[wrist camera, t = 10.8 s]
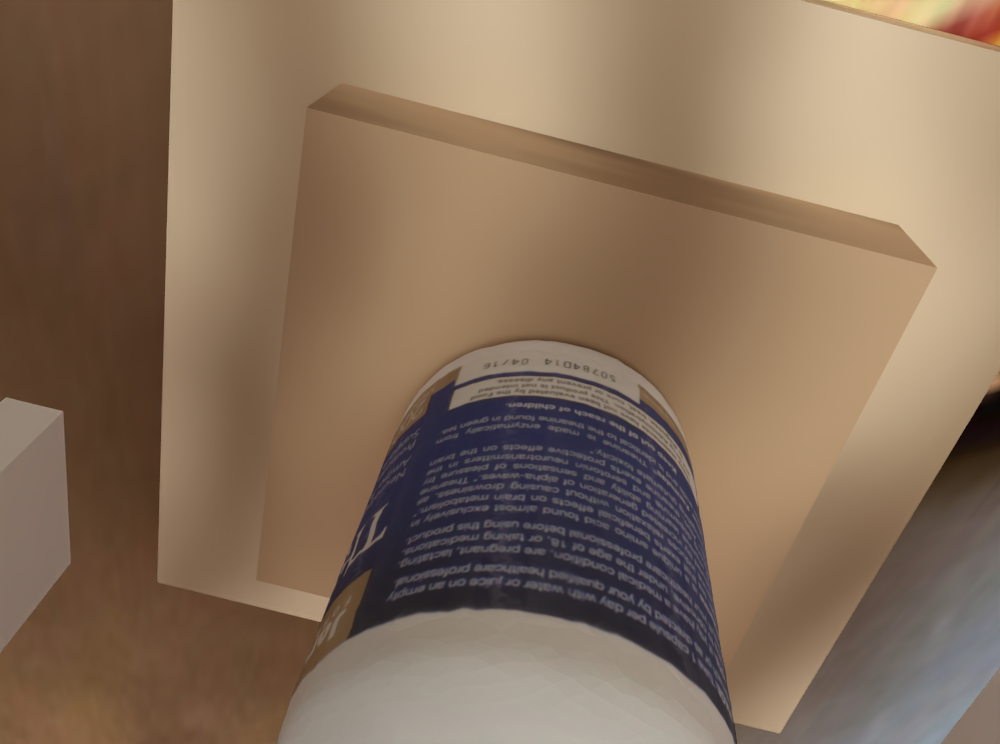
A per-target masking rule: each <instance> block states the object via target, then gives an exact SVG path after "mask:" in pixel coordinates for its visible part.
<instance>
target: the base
mask: <svg viewBox="0 0 1000 744" xmlns="http://www.w3.org/2000/svg"><path fill="white" fill-rule="evenodd" d="M529 340H542V341H554V342H561V343H567V344H571V345H575V346H580V347H584V348H588V349H591V350H594V351H597V352H600V353H602V354H605V355H608V356H610V357H613V358H615V359H617V360H619V361H620V362H622V363H623V364H624V365H626V366H628V367H629V368H631V369H633V370H634V371H636V372H637V373H639V374H640V375H642V376H643V377H644V378H645V379H646V380H647V381H649V382H650V383H651V384H652V385H653V386H654V387H655V388H656V389H657V390H658V391H659V392H660V394H661V395H662V396H663V397H664V399H665V400H666V402H667V403H668V405H669V406H670V407H671V409H672V410H673V412H674V414H675V415H676V417H677V419H678V421H679V423H680V425H681V428H682V430H683V433H684V435H685V439H686V443H687V446H688V450H689V454H690V459H691V463H692V469H693V474H694V480H695V485H696V491H697V500H698V505H699V513H700V519H701V524H702V528H703V534H704V541H705V550H706V556H707V563H708V569H709V575H710V581H711V587H712V594H713V601H714V607H715V613H716V618H717V624H718V630H719V640H720V646H721V652H722V658H723V662H724V666H725V672H726V679H727V687H728V692H729V697H730V702H731V707H732V716H733V721H734V723H738V724H742V725H746V726H750V727H754V728H758V729H763V730H767V731H771V732H775V733H779V734H780V732H781V731H782V729H783V727H784V726H785V724H786V722H787V721H788V719H789V717H790V716H791V714H792V713H793V711H794V709H795V708H796V706H797V704H798V703H799V701H800V699H801V698H802V696H803V694H804V693H805V691H806V689H807V688H808V686H809V685H810V683H811V681H812V680H813V678H814V676H815V675H816V673H817V671H818V670H819V668H820V666H821V665H822V663H823V661H824V660H825V658H826V656H827V655H828V653H829V652H830V650H831V648H832V647H833V645H834V643H835V642H836V640H837V638H838V637H839V635H840V633H841V632H842V630H843V628H844V627H845V625H846V623H847V622H848V620H849V619H850V617H851V615H852V614H853V612H854V610H855V609H856V607H857V605H858V604H859V602H860V600H861V599H862V597H863V595H864V594H865V592H866V590H867V589H868V587H869V586H870V584H871V582H872V581H873V579H874V577H875V576H876V574H877V572H878V571H879V569H880V567H881V566H882V564H883V562H884V561H885V559H886V557H887V556H888V554H889V553H890V551H891V549H892V548H893V546H894V544H895V543H896V541H897V539H898V538H899V536H900V534H901V533H902V531H903V529H904V528H905V526H906V524H907V523H908V521H909V520H910V518H911V516H912V515H913V513H914V511H915V510H916V508H917V506H918V505H919V503H920V501H921V500H922V498H923V496H924V495H925V493H926V491H927V490H928V488H929V487H930V485H931V483H932V482H933V480H934V478H935V477H936V475H937V473H938V472H939V470H940V468H941V467H942V465H943V463H944V462H945V460H946V458H947V457H948V455H949V454H950V452H951V450H952V449H953V447H954V445H955V444H956V442H957V440H958V439H959V437H960V435H961V434H962V432H963V430H964V429H965V427H966V425H967V424H968V422H969V421H970V419H971V417H972V416H973V414H974V412H975V411H976V409H977V407H978V406H979V404H980V402H981V401H982V399H983V397H984V396H985V394H986V392H987V391H988V389H989V388H990V386H991V384H992V383H993V381H994V379H995V378H996V376H997V374H998V373H999V371H1000V46H996V45H992V44H988V43H985V42H981V41H977V40H973V39H969V38H965V37H961V36H958V35H954V34H950V33H946V32H942V31H938V30H934V29H931V28H927V27H923V26H919V25H915V24H911V23H908V22H904V21H900V20H896V19H892V18H888V17H884V16H881V15H877V14H873V13H869V12H865V11H861V10H857V9H854V8H850V7H846V6H842V5H838V4H834V3H830V2H827V1H823V0H173V19H172V56H171V93H170V130H169V167H168V204H167V241H166V278H165V315H164V352H163V389H162V426H161V463H160V500H159V537H158V574H157V582H158V583H162V584H166V585H170V586H175V587H179V588H183V589H187V590H191V591H195V592H199V593H203V594H207V595H212V596H216V597H220V598H224V599H228V600H232V601H236V602H240V603H244V604H249V605H253V606H257V607H261V608H265V609H269V610H273V611H277V612H281V613H286V614H290V615H294V616H298V617H302V618H306V619H310V620H314V621H318V622H321V620H322V618H323V615H324V613H325V610H326V608H327V605H328V602H329V600H330V597H331V594H332V592H333V590H334V588H335V586H336V583H337V579H338V576H339V573H340V571H341V569H342V567H343V564H344V562H345V559H346V556H347V554H348V551H349V549H350V546H351V544H352V541H353V539H354V536H355V534H356V532H357V529H358V527H359V524H360V522H361V519H362V517H363V514H364V512H365V509H366V506H367V504H368V501H369V499H370V496H371V494H372V492H373V489H374V486H375V484H376V481H377V478H378V476H379V473H380V470H381V468H382V465H383V462H384V460H385V457H386V455H387V452H388V450H389V448H390V445H391V442H392V440H393V437H394V435H395V433H396V431H397V430H398V428H399V425H400V423H401V421H402V418H403V416H404V414H405V412H406V410H407V408H408V407H409V405H410V403H411V402H412V401H413V399H414V398H415V396H416V395H417V393H418V392H419V390H420V389H421V388H422V387H423V386H424V385H425V384H426V383H427V382H428V381H429V380H430V379H431V378H432V377H433V376H434V375H435V374H436V373H438V372H439V371H440V370H441V369H442V368H443V367H445V366H446V365H448V364H449V363H451V362H453V361H455V360H456V359H458V358H460V357H462V356H464V355H466V354H468V353H470V352H473V351H475V350H478V349H481V348H487V347H492V346H496V345H500V344H503V343H509V342H516V341H529Z"/></svg>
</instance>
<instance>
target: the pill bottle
mask: <svg viewBox="0 0 1000 744" xmlns="http://www.w3.org/2000/svg"><path fill="white" fill-rule="evenodd" d="M277 744H737V740H736V733H735V726H734V721H733V716H732V707H731V702H730V697H729V692H728V687H727V679H726V672H725V666H724V662H723V658H722V652H721V646H720V640H719V630H718V624H717V618H716V613H715V607H714V601H713V594H712V587H711V581H710V575H709V569H708V563H707V556H706V550H705V541H704V534H703V528H702V524H701V519H700V513H699V505H698V500H697V491H696V485H695V480H694V474H693V469H692V463H691V459H690V454H689V450H688V446H687V443H686V439H685V435H684V433H683V430H682V428H681V425H680V423H679V421H678V419H677V417H676V415H675V414H674V412H673V410H672V409H671V407H670V406H669V405H668V403H667V402H666V400H665V399H664V397H663V396H662V395H661V394H660V392H659V391H658V390H657V389H656V388H655V387H654V386H653V385H652V384H651V383H650V382H649V381H647V380H646V379H645V378H644V377H643V376H642V375H640V374H639V373H637V372H636V371H634V370H633V369H631V368H629V367H628V366H626V365H624V364H623V363H622V362H620V361H619V360H617V359H615V358H613V357H610V356H608V355H605V354H602V353H600V352H597V351H594V350H591V349H588V348H584V347H580V346H575V345H571V344H567V343H561V342H554V341H542V340H529V341H516V342H509V343H503V344H500V345H496V346H492V347H487V348H481V349H478V350H475V351H473V352H470V353H468V354H466V355H464V356H462V357H460V358H458V359H456V360H455V361H453V362H451V363H449V364H448V365H446V366H445V367H443V368H442V369H441V370H440V371H439V372H438V373H436V374H435V375H434V376H433V377H432V378H431V379H430V380H429V381H428V382H427V383H426V384H425V385H424V386H423V387H422V388H421V389H420V390H419V392H418V393H417V395H416V396H415V398H414V399H413V401H412V402H411V403H410V405H409V407H408V408H407V410H406V412H405V414H404V416H403V418H402V421H401V423H400V425H399V428H398V430H397V431H396V433H395V435H394V437H393V440H392V442H391V445H390V448H389V450H388V452H387V455H386V457H385V460H384V462H383V465H382V468H381V470H380V473H379V476H378V478H377V481H376V484H375V486H374V489H373V492H372V494H371V496H370V499H369V501H368V504H367V506H366V509H365V512H364V514H363V517H362V519H361V522H360V524H359V527H358V529H357V532H356V534H355V536H354V539H353V541H352V544H351V546H350V549H349V551H348V554H347V556H346V559H345V562H344V564H343V567H342V569H341V571H340V573H339V576H338V579H337V583H336V586H335V588H334V590H333V592H332V594H331V597H330V600H329V602H328V605H327V608H326V610H325V613H324V615H323V618H322V620H321V623H320V626H319V628H318V631H317V634H316V637H315V639H314V642H313V644H312V647H311V649H310V652H309V654H308V657H307V660H306V662H305V665H304V667H303V670H302V672H301V675H300V677H299V680H298V682H297V685H296V687H295V690H294V692H293V695H292V698H291V701H290V704H289V707H288V710H287V713H286V716H285V719H284V722H283V725H282V728H281V731H280V734H279V738H278V742H277Z"/></svg>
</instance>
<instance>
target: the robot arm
mask: <svg viewBox="0 0 1000 744" xmlns="http://www.w3.org/2000/svg"><path fill="white" fill-rule="evenodd" d="M70 563H71V555H70V535H69V515H68V495H67V475H66V455H65V435H64V415H63V411H60V410H56V409H52V408H48V407H44V406H40V405H36V404H31V403H27V402H23V401H19V400H15V399H11V398H7V397H6V398H5V399H3V400H2V401H1V402H0V653H1V651H2V650H3V649H4V648H5V646H6V645H7V644H8V642H9V641H10V640H11V639H12V637H13V636H14V635H15V634H16V632H17V631H18V630H19V628H20V627H21V626H22V625H23V623H24V622H25V621H26V620H27V618H28V617H29V616H30V614H31V613H32V612H33V611H34V609H35V608H36V607H37V605H38V604H39V603H40V602H41V600H42V599H43V598H44V597H45V595H46V594H47V593H48V591H49V590H50V589H51V588H52V586H53V585H54V584H55V583H56V581H57V580H58V579H59V577H60V576H61V575H62V574H63V572H64V571H65V570H66V569H67V567H68V566H69V565H70ZM941 744H1000V669H999V670H998V671H997V672H996V674H995V675H994V676H993V678H992V679H991V680H990V681H989V683H988V684H987V685H986V686H985V688H984V689H983V690H982V692H981V693H980V694H979V695H978V697H977V698H976V699H975V701H974V702H973V703H972V704H971V706H970V707H969V708H968V710H967V711H966V712H965V713H964V715H963V716H962V717H961V719H960V720H959V721H958V722H957V724H956V725H955V726H954V728H953V729H952V730H951V731H950V733H949V734H948V735H947V737H946V738H945V739H944V740H943V742H942V743H941Z"/></svg>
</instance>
